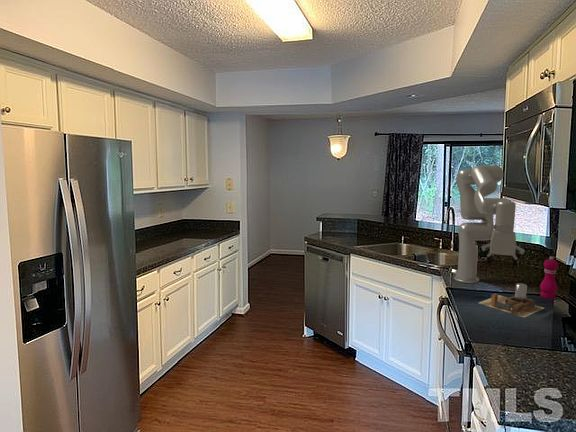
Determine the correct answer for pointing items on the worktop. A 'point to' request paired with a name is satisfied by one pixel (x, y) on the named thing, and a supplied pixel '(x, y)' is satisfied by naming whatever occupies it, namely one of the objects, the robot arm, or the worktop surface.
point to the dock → (502, 299)
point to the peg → (520, 293)
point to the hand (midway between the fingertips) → (501, 266)
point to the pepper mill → (549, 279)
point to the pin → (499, 303)
